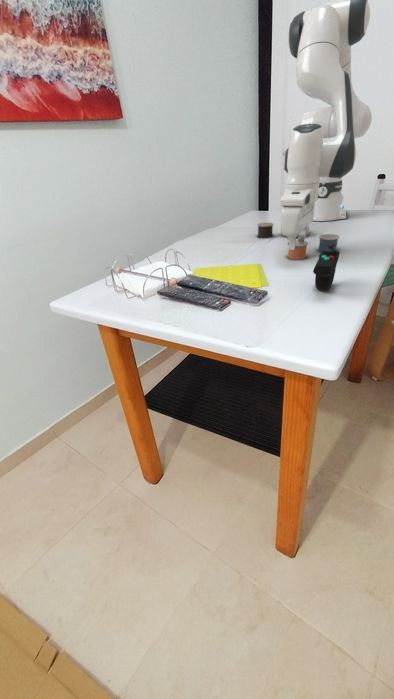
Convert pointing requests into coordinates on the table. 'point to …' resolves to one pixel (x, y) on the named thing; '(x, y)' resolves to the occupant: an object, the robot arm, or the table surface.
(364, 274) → the table surface
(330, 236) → the pod top
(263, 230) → the base
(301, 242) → the cylinder
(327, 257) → the controller
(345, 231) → the table surface
